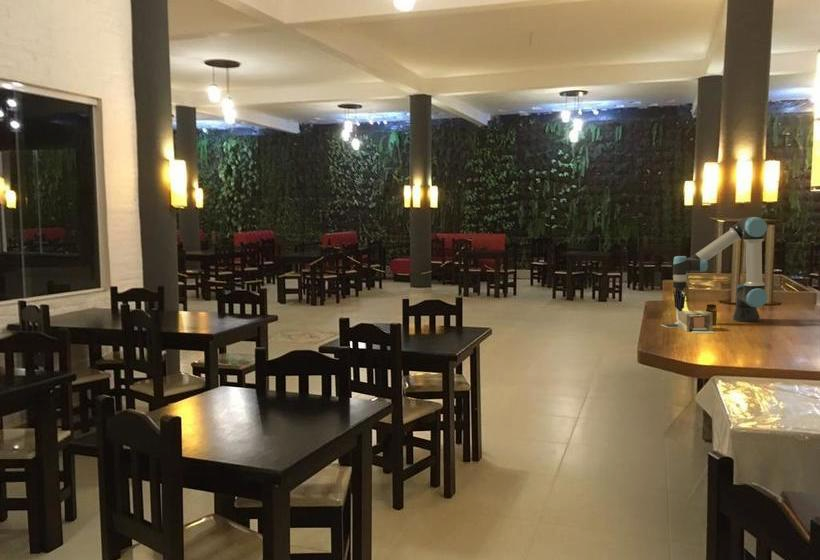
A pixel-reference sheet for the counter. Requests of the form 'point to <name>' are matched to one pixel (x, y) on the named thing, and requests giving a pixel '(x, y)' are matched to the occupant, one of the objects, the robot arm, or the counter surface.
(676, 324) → the pad
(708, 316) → the tunnel
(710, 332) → the mat
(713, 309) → the condiment
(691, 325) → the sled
